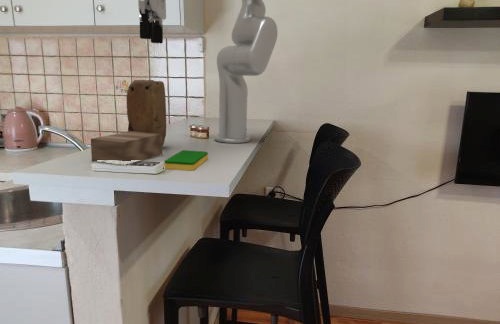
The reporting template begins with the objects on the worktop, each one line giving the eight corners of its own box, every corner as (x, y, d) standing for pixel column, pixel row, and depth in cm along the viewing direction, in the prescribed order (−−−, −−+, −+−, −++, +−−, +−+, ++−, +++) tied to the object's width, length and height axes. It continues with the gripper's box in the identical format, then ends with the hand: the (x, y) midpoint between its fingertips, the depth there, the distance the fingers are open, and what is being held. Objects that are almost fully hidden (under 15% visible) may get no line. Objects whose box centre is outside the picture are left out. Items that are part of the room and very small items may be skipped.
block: (168, 146, 118) (167, 80, 114) (155, 150, 111) (154, 80, 107) (138, 143, 121) (136, 79, 117) (124, 147, 114) (121, 79, 110)
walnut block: (132, 151, 110) (131, 131, 109) (162, 155, 107) (161, 133, 106) (92, 162, 96) (90, 138, 94) (125, 166, 92) (124, 142, 91)
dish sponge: (163, 170, 90) (163, 160, 90) (182, 158, 104) (182, 149, 103) (193, 172, 89) (193, 162, 89) (208, 160, 103) (208, 151, 102)
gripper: (157, -40, 89) (157, 37, 92) (173, -20, 106) (173, 45, 109) (125, -41, 89) (126, 36, 92) (146, -21, 106) (147, 43, 109)
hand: (151, 40), depth 101 cm, fingers open, 9 cm apart
